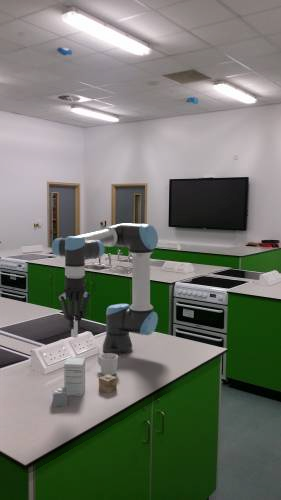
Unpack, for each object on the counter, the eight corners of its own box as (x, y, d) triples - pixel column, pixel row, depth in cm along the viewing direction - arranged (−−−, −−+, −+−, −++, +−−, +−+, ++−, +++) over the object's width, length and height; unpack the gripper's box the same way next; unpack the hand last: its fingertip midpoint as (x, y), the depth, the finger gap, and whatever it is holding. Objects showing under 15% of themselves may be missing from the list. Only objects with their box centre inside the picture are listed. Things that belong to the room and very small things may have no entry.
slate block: (66, 399, 165) (66, 386, 164) (67, 405, 160) (67, 392, 160) (52, 400, 164) (52, 387, 163) (53, 406, 159) (53, 393, 158)
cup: (91, 372, 192) (91, 354, 191) (105, 367, 198) (105, 350, 197) (108, 379, 185) (108, 360, 184) (121, 373, 191) (121, 356, 190)
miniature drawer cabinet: (67, 387, 176) (67, 357, 174) (85, 388, 176) (85, 357, 174) (63, 395, 168) (63, 363, 167) (82, 396, 168) (82, 364, 167)
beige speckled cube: (107, 385, 178) (107, 373, 178) (116, 389, 175) (116, 377, 174) (98, 389, 174) (98, 377, 174) (107, 393, 171) (107, 380, 170)
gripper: (85, 274, 174) (85, 331, 176) (55, 276, 166) (54, 336, 169) (94, 276, 168) (93, 336, 170) (63, 279, 160) (62, 341, 163)
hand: (74, 336), depth 169 cm, fingers closed
